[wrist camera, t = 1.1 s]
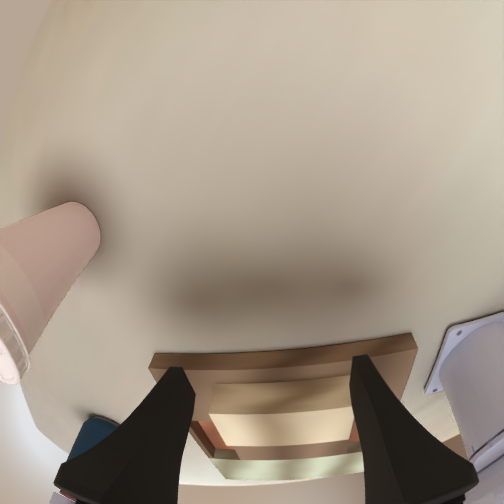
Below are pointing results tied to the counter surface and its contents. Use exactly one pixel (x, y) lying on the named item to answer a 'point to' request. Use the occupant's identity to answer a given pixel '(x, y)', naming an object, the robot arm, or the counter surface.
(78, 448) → the soda can
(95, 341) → the counter surface
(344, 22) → the counter surface
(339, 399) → the block
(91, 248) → the smoothie
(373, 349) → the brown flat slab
